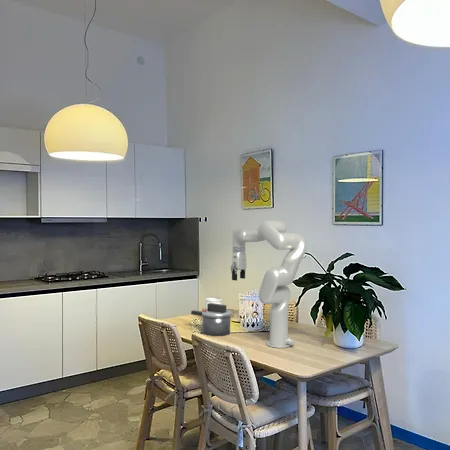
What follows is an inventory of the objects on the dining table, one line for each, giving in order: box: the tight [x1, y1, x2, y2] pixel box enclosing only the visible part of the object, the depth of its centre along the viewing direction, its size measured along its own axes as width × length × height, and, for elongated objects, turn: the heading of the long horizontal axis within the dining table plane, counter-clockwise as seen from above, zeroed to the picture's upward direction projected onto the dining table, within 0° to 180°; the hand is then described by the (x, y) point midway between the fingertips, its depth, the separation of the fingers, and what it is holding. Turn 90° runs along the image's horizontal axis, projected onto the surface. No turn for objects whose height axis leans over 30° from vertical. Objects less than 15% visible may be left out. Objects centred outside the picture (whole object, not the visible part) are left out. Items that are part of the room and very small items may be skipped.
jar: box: [204, 296, 223, 309], centre depth 282 cm, size 11×10×15 cm
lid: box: [201, 303, 233, 317], centre depth 257 cm, size 17×17×5 cm
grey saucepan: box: [190, 309, 232, 337], centre depth 259 cm, size 25×17×11 cm, turn 58°
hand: (238, 279), depth 262 cm, fingers open, 9 cm apart
